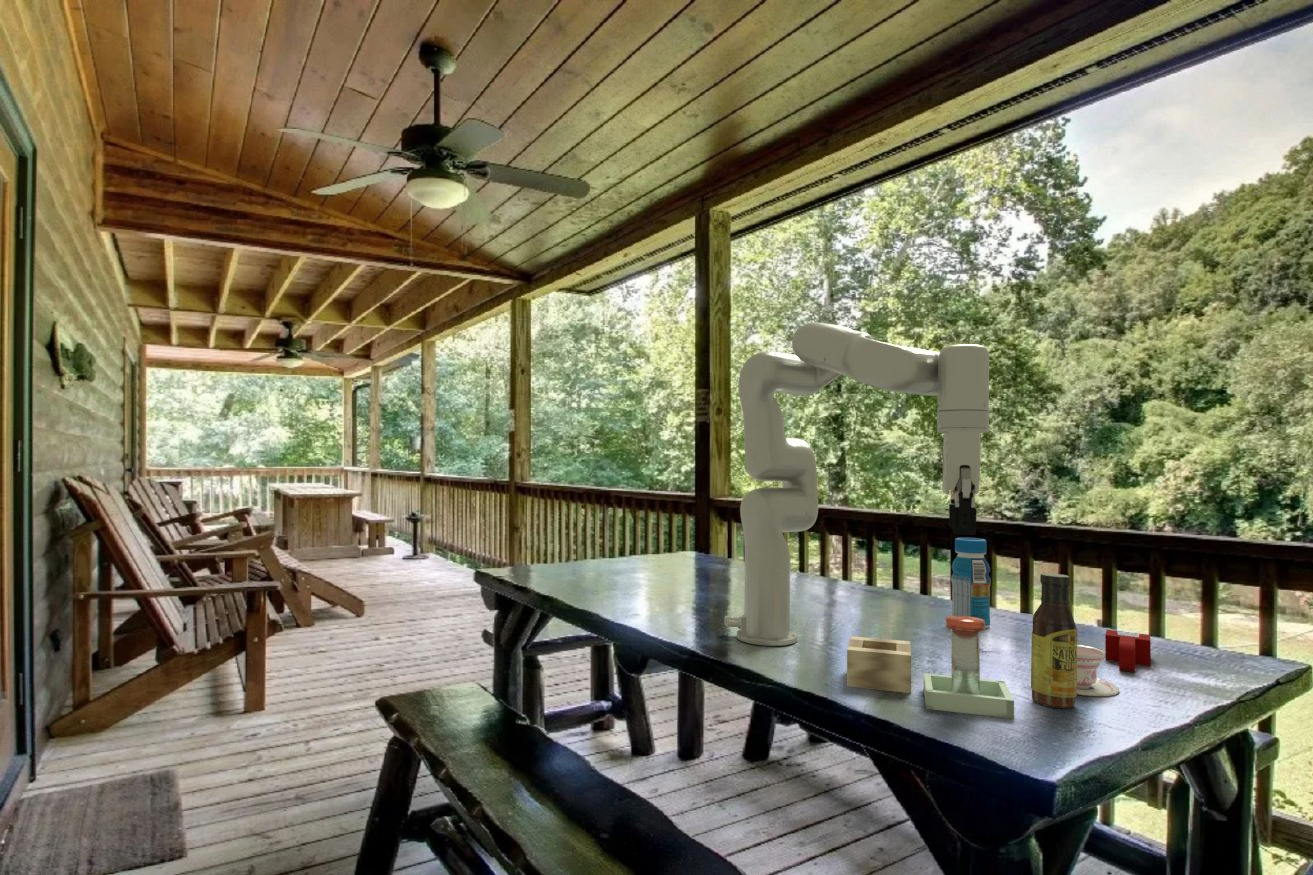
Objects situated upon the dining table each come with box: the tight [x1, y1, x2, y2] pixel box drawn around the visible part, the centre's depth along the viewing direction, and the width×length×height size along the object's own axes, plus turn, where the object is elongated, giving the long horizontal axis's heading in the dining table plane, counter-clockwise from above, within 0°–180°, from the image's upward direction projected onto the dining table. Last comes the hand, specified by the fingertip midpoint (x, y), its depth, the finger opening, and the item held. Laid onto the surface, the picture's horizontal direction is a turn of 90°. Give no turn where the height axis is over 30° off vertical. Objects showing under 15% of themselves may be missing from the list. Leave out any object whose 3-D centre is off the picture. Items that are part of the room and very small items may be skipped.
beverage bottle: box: [950, 537, 992, 630], centre depth 166 cm, size 8×8×20 cm
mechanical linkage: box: [1104, 629, 1152, 673], centre depth 135 cm, size 16×7×5 cm, turn 146°
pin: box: [945, 615, 986, 695], centre depth 111 cm, size 6×6×12 cm
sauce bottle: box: [1030, 572, 1078, 709], centre depth 112 cm, size 7×6×20 cm
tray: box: [923, 673, 1015, 720], centre depth 111 cm, size 12×10×3 cm
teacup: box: [1077, 644, 1120, 697], centre depth 121 cm, size 12×12×6 cm
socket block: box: [846, 636, 912, 694], centre depth 121 cm, size 10×10×6 cm
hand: (961, 531), depth 113 cm, fingers open, 9 cm apart
